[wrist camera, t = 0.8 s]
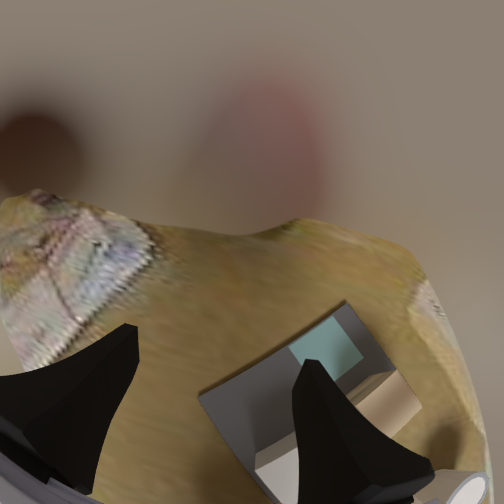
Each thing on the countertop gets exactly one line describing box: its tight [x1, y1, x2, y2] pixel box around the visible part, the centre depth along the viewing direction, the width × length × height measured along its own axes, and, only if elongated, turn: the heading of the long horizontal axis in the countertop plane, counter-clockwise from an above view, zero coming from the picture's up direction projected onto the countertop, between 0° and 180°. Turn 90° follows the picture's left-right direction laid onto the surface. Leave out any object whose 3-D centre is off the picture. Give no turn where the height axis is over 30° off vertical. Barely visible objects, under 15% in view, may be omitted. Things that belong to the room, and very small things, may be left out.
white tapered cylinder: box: [414, 469, 489, 504], centre depth 12 cm, size 7×7×7 cm
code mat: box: [197, 303, 396, 504], centre depth 22 cm, size 14×18×1 cm
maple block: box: [346, 370, 422, 438], centre depth 19 cm, size 4×4×6 cm
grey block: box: [255, 431, 299, 504], centre depth 17 cm, size 4×4×6 cm
